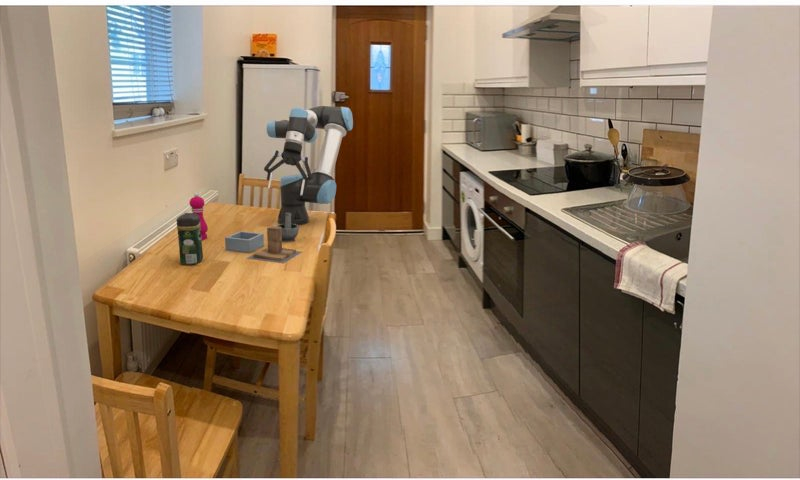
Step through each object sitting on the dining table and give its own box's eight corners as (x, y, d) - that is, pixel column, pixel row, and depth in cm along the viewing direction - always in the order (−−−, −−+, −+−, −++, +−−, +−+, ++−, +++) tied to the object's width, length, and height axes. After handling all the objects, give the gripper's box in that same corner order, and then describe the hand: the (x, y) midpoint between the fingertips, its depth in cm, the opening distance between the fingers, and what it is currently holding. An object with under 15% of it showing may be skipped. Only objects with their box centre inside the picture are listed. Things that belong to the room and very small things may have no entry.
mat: (267, 249, 225) (267, 247, 224) (302, 253, 220) (302, 251, 220) (246, 260, 210) (246, 258, 210) (283, 265, 206) (283, 263, 205)
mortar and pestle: (298, 244, 232) (297, 217, 229) (276, 244, 231) (275, 217, 228) (299, 237, 243) (299, 211, 240) (278, 237, 242) (277, 211, 238)
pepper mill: (187, 239, 234) (183, 194, 229) (197, 235, 241) (194, 191, 236) (201, 241, 233) (198, 195, 227) (211, 237, 239) (208, 192, 234)
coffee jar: (183, 258, 210) (179, 211, 205) (204, 257, 212) (201, 211, 206) (177, 266, 201) (173, 217, 196) (200, 265, 202) (196, 217, 197)
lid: (269, 249, 222) (268, 222, 219) (295, 252, 219) (295, 225, 216) (253, 257, 211) (252, 229, 208) (281, 261, 208) (280, 233, 205)
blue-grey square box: (240, 244, 230) (240, 231, 228) (264, 247, 227) (263, 233, 225) (225, 251, 219) (224, 237, 218) (249, 254, 216) (249, 240, 215)
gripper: (264, 134, 225) (255, 183, 221) (323, 147, 232) (315, 195, 228) (263, 139, 232) (254, 187, 229) (321, 152, 239) (313, 199, 235)
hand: (285, 191), depth 228 cm, fingers open, 13 cm apart
